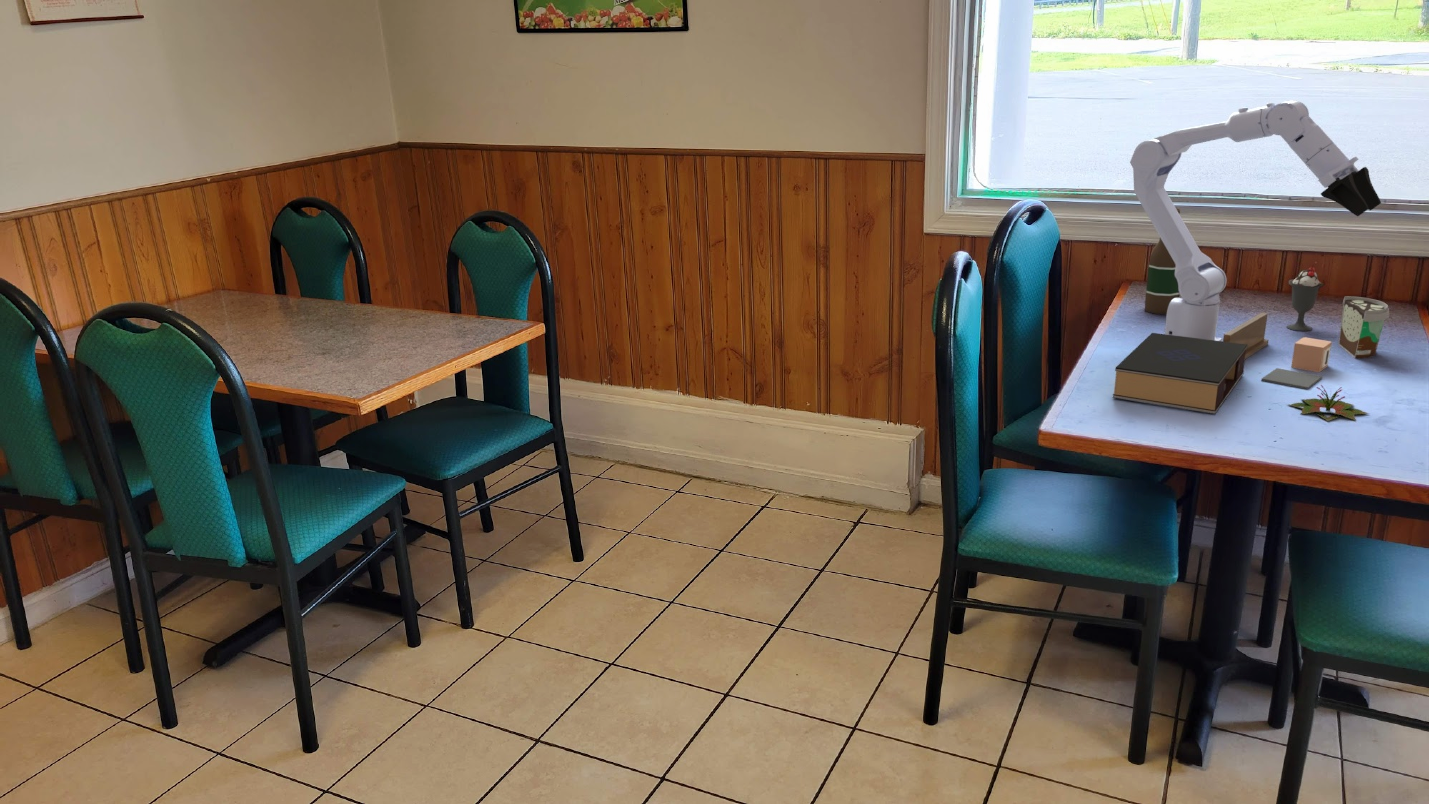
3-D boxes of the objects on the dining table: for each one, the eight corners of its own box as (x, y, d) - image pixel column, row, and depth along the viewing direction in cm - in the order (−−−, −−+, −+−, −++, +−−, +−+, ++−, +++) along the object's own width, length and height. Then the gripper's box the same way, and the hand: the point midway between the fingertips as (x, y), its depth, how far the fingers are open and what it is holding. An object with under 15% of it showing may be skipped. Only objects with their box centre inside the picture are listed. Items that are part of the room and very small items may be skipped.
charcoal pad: (1261, 380, 196) (1261, 378, 196) (1276, 370, 202) (1276, 368, 202) (1307, 389, 191) (1307, 387, 191) (1321, 378, 196) (1322, 376, 196)
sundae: (1309, 334, 222) (1320, 264, 217) (1277, 328, 227) (1287, 260, 222) (1322, 327, 226) (1333, 259, 221) (1289, 322, 231) (1299, 255, 226)
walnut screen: (1215, 365, 206) (1219, 333, 204) (1252, 341, 219) (1256, 311, 217) (1230, 368, 204) (1235, 336, 202) (1267, 344, 217) (1272, 314, 215)
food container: (1392, 361, 204) (1401, 311, 200) (1357, 360, 205) (1366, 311, 201) (1368, 343, 215) (1377, 295, 212) (1335, 342, 216) (1343, 295, 213)
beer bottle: (1184, 314, 240) (1196, 209, 232) (1150, 315, 241) (1161, 211, 233) (1171, 305, 248) (1182, 204, 240) (1138, 306, 248) (1148, 205, 240)
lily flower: (1327, 429, 174) (1331, 403, 173) (1272, 406, 185) (1275, 381, 184) (1384, 419, 177) (1389, 394, 176) (1327, 397, 188) (1331, 373, 187)
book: (1243, 377, 200) (1248, 344, 197) (1214, 418, 181) (1219, 382, 178) (1148, 364, 209) (1152, 332, 207) (1112, 401, 190) (1115, 367, 188)
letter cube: (1291, 367, 203) (1294, 343, 201) (1299, 361, 206) (1303, 337, 205) (1321, 373, 199) (1325, 348, 198) (1329, 366, 203) (1333, 341, 201)
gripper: (1325, 142, 187) (1378, 200, 183) (1351, 134, 196) (1401, 189, 193) (1291, 169, 192) (1342, 226, 188) (1318, 160, 201) (1366, 214, 198)
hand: (1369, 209), depth 191 cm, fingers open, 7 cm apart
